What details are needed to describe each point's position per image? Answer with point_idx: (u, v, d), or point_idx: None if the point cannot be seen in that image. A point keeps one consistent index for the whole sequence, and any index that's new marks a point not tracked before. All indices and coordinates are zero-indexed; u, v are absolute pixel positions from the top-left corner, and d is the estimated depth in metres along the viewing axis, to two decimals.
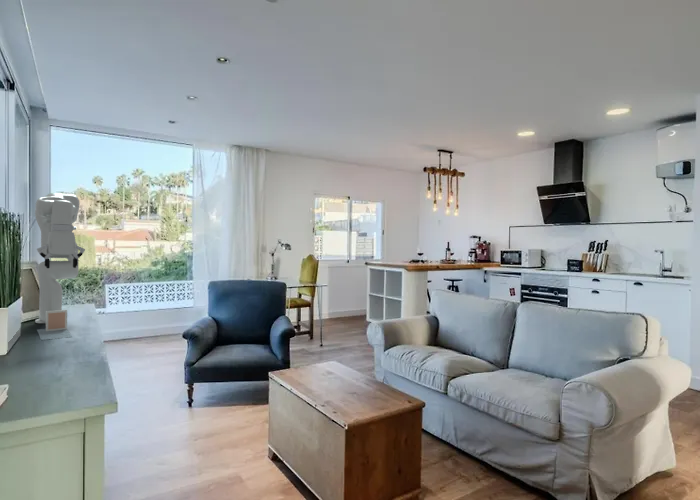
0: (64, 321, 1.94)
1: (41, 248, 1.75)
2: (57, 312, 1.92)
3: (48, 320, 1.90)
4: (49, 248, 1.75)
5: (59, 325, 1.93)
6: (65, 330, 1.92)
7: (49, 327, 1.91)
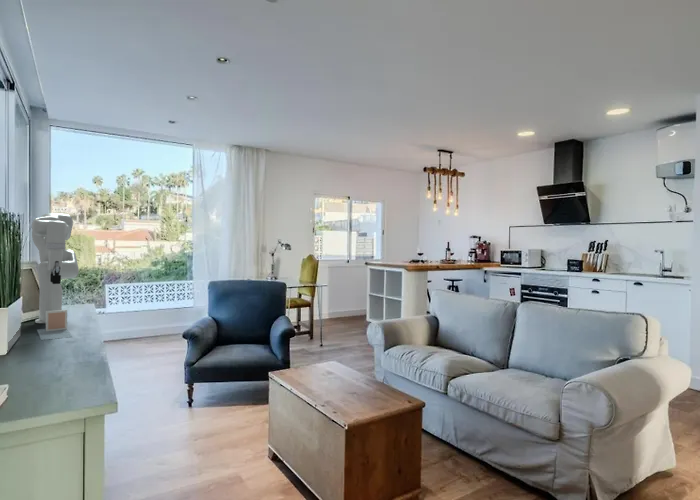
0: (64, 321, 1.94)
1: (58, 266, 1.93)
2: (57, 312, 1.92)
3: (48, 320, 1.90)
4: (61, 265, 1.95)
5: (59, 325, 1.93)
6: (65, 330, 1.92)
7: (49, 327, 1.91)
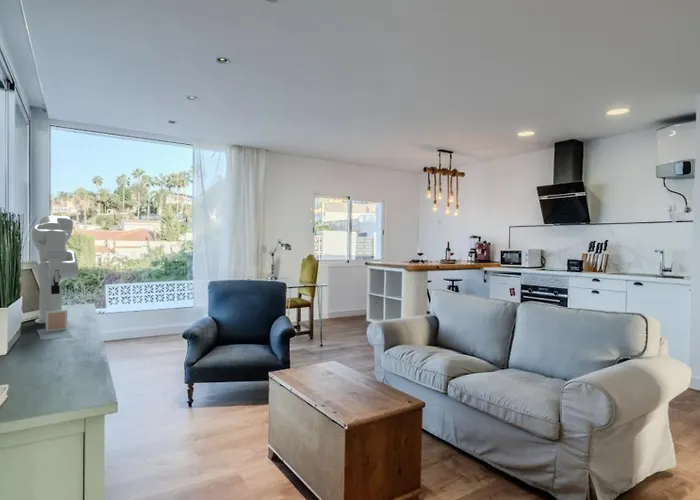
0: (64, 321, 1.94)
1: (58, 278, 1.95)
2: (57, 312, 1.92)
3: (48, 320, 1.90)
4: (61, 273, 1.95)
5: (59, 325, 1.93)
6: (65, 330, 1.92)
7: (49, 327, 1.91)
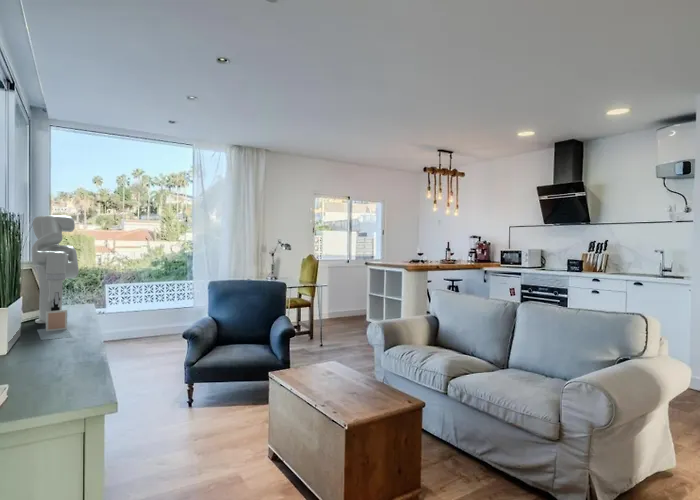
0: (64, 321, 1.94)
1: (58, 300, 1.94)
2: (57, 312, 1.92)
3: (48, 320, 1.90)
4: (61, 296, 1.95)
5: (59, 325, 1.93)
6: (65, 330, 1.92)
7: (49, 327, 1.91)
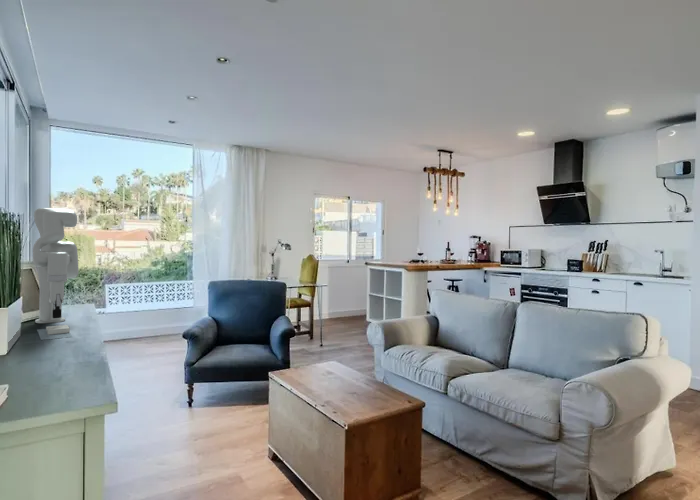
0: None
1: (59, 302, 1.89)
2: None
3: None
4: (63, 297, 1.90)
5: None
6: None
7: None
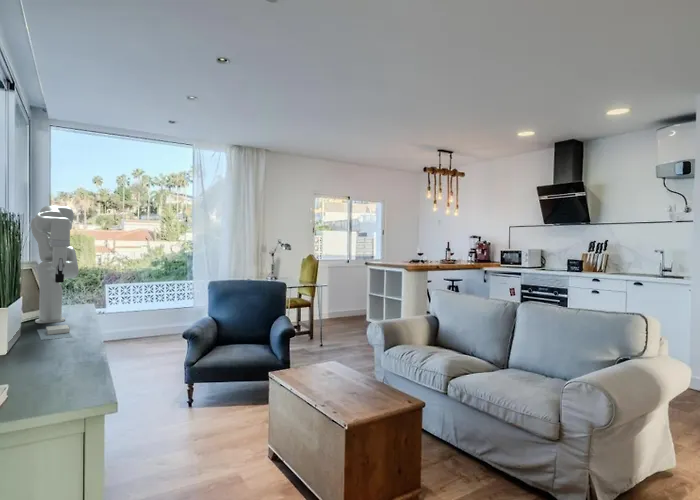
0: None
1: (62, 267, 1.92)
2: None
3: None
4: (65, 262, 1.92)
5: None
6: None
7: None
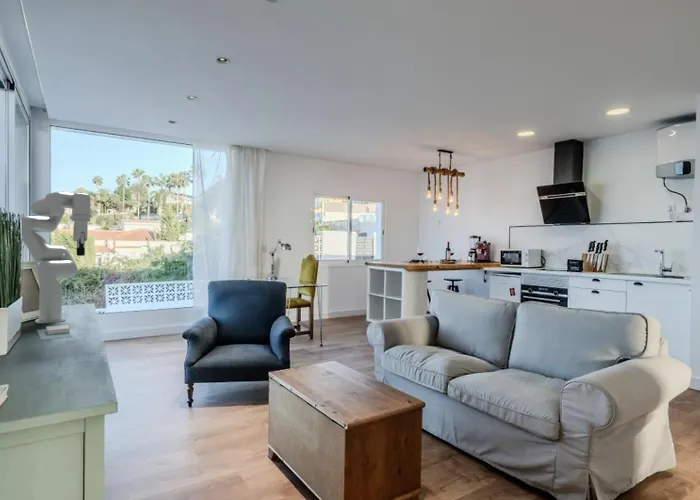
0: None
1: (83, 240, 2.00)
2: None
3: None
4: None
5: None
6: None
7: None
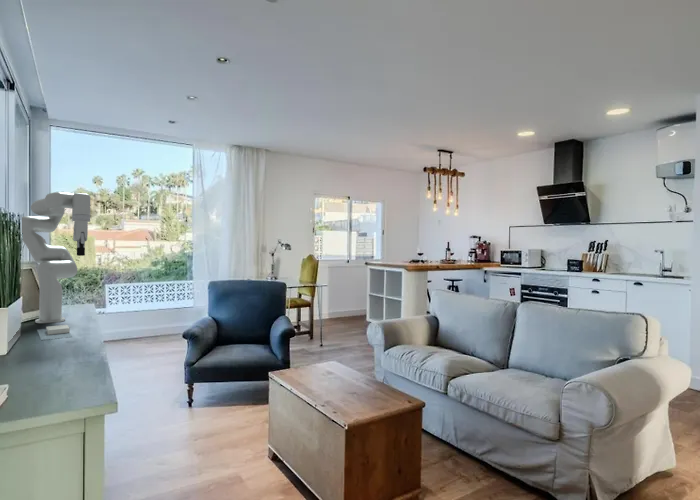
0: None
1: (83, 240, 2.00)
2: None
3: None
4: None
5: None
6: None
7: None
